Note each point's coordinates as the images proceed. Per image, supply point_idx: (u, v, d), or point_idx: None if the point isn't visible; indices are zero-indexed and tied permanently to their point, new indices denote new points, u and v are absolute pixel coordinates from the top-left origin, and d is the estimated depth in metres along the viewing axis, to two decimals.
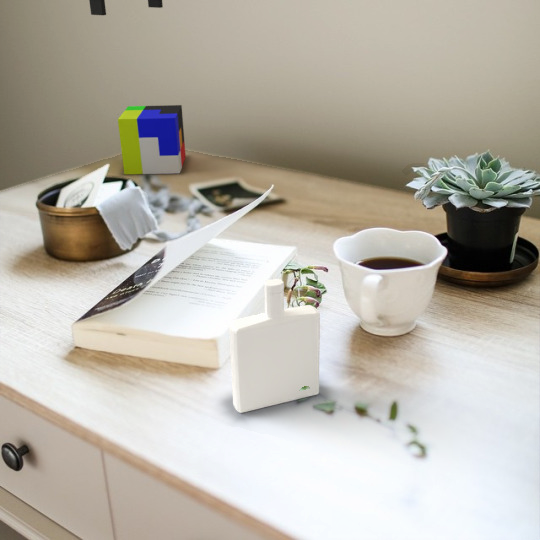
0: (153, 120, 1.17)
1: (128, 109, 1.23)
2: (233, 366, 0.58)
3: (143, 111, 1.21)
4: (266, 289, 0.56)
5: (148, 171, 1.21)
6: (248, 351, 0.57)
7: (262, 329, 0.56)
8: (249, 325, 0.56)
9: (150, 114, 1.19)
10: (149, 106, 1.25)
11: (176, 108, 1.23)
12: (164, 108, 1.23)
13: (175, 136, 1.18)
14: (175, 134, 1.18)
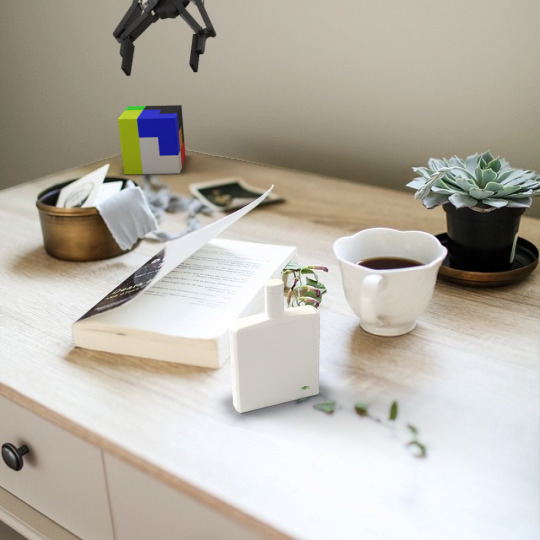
0: (153, 120, 1.17)
1: (128, 109, 1.23)
2: (233, 366, 0.58)
3: (143, 111, 1.21)
4: (266, 289, 0.56)
5: (148, 171, 1.21)
6: (248, 351, 0.57)
7: (262, 329, 0.56)
8: (249, 325, 0.56)
9: (150, 114, 1.19)
10: (149, 106, 1.25)
11: (176, 108, 1.23)
12: (164, 108, 1.23)
13: (175, 136, 1.18)
14: (175, 134, 1.18)
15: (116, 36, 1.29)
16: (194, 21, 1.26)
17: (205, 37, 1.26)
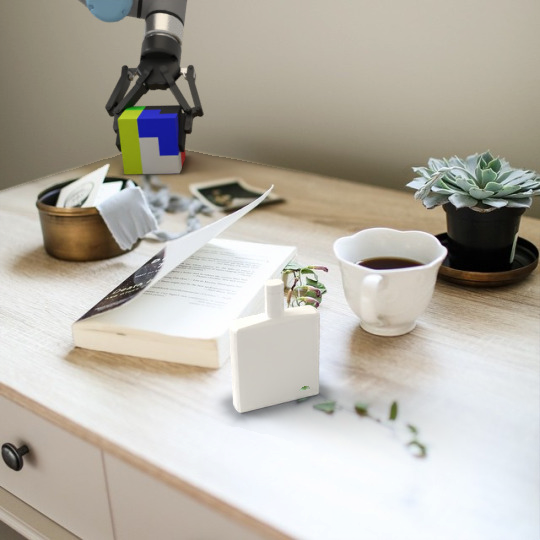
0: (153, 120, 1.17)
1: (128, 109, 1.23)
2: (233, 366, 0.58)
3: (143, 111, 1.21)
4: (266, 289, 0.56)
5: (148, 171, 1.21)
6: (248, 351, 0.57)
7: (262, 329, 0.56)
8: (249, 325, 0.56)
9: (150, 114, 1.19)
10: (149, 106, 1.25)
11: (176, 108, 1.23)
12: (164, 108, 1.23)
13: (175, 136, 1.18)
14: (175, 134, 1.18)
15: (109, 109, 1.23)
16: (183, 99, 1.22)
17: (193, 116, 1.22)
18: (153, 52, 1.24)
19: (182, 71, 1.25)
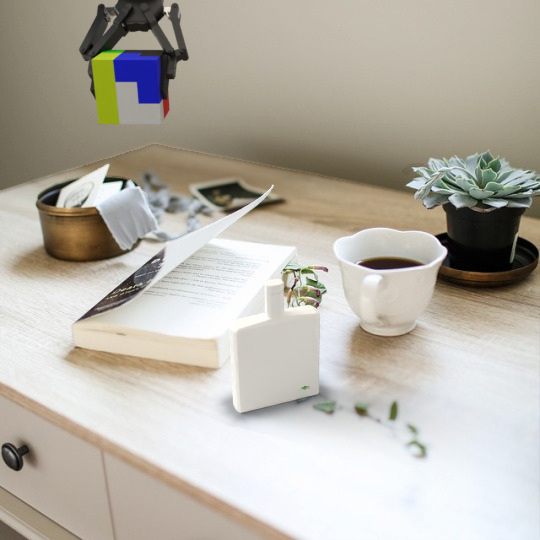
0: (131, 62, 1.03)
1: (105, 52, 1.09)
2: (233, 366, 0.58)
3: (121, 54, 1.08)
4: (266, 289, 0.56)
5: (125, 121, 1.07)
6: (248, 351, 0.57)
7: (262, 329, 0.56)
8: (249, 325, 0.56)
9: (129, 56, 1.06)
10: (129, 50, 1.11)
11: (159, 52, 1.09)
12: (146, 52, 1.10)
13: (156, 81, 1.04)
14: (156, 79, 1.04)
15: (84, 52, 1.09)
16: (166, 40, 1.09)
17: (176, 60, 1.09)
18: None
19: (165, 10, 1.12)
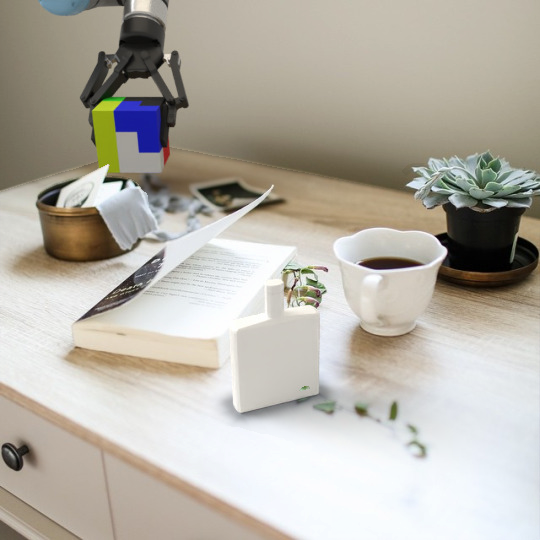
0: (131, 112, 1.04)
1: (106, 100, 1.10)
2: (233, 366, 0.58)
3: (122, 102, 1.09)
4: (266, 289, 0.56)
5: (126, 170, 1.08)
6: (248, 351, 0.57)
7: (262, 329, 0.56)
8: (249, 325, 0.56)
9: (129, 106, 1.06)
10: (130, 97, 1.12)
11: (159, 100, 1.10)
12: (146, 100, 1.10)
13: (156, 131, 1.05)
14: (156, 129, 1.05)
15: (84, 100, 1.10)
16: (166, 88, 1.10)
17: (176, 108, 1.10)
18: (133, 36, 1.11)
19: (165, 57, 1.12)
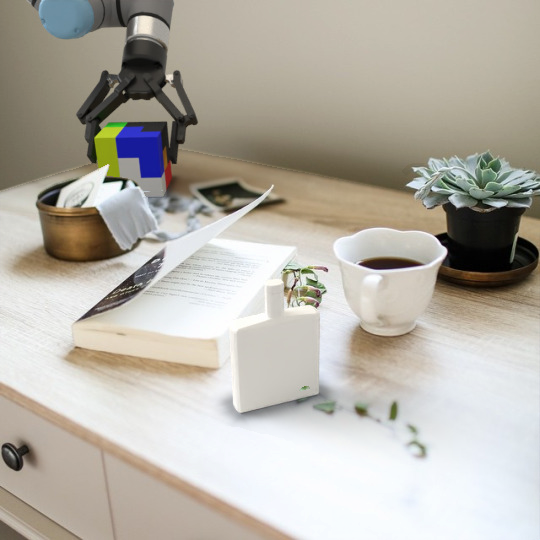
0: (133, 139, 1.06)
1: (108, 126, 1.12)
2: (233, 366, 0.58)
3: (124, 128, 1.10)
4: (266, 289, 0.56)
5: None
6: (248, 351, 0.57)
7: (262, 329, 0.56)
8: (249, 325, 0.56)
9: (131, 132, 1.08)
10: (131, 122, 1.14)
11: (160, 125, 1.12)
12: (147, 125, 1.12)
13: (157, 157, 1.07)
14: (157, 154, 1.07)
15: (80, 117, 1.12)
16: (173, 106, 1.11)
17: (186, 125, 1.12)
18: (136, 58, 1.13)
19: (168, 78, 1.14)
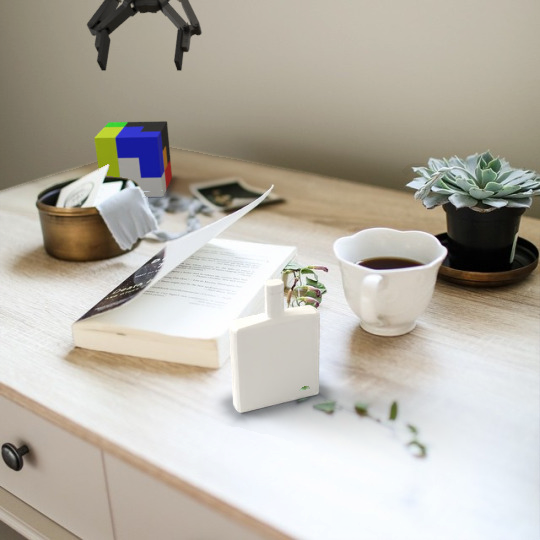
0: (133, 139, 1.06)
1: (108, 126, 1.12)
2: (233, 366, 0.58)
3: (124, 128, 1.10)
4: (266, 289, 0.56)
5: None
6: (248, 351, 0.57)
7: (262, 329, 0.56)
8: (249, 325, 0.56)
9: (131, 132, 1.08)
10: (131, 122, 1.14)
11: (160, 125, 1.12)
12: (147, 125, 1.12)
13: (157, 157, 1.07)
14: (157, 154, 1.07)
15: (91, 27, 1.19)
16: (179, 16, 1.18)
17: (190, 34, 1.18)
18: None
19: None
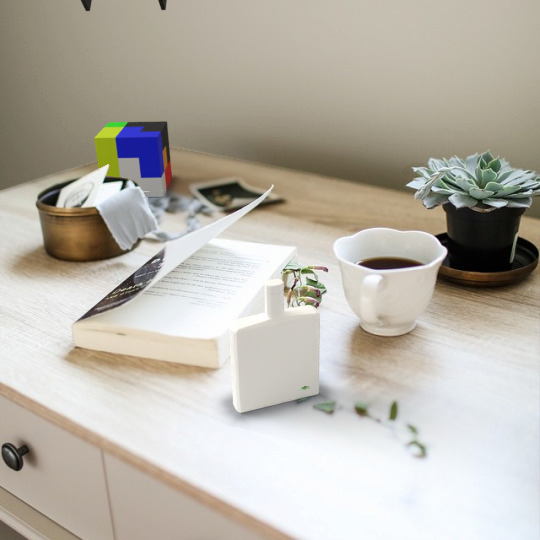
0: (133, 139, 1.06)
1: (108, 126, 1.12)
2: (233, 366, 0.58)
3: (124, 128, 1.10)
4: (266, 289, 0.56)
5: None
6: (248, 351, 0.57)
7: (262, 329, 0.56)
8: (249, 325, 0.56)
9: (131, 132, 1.08)
10: (131, 122, 1.14)
11: (160, 125, 1.12)
12: (147, 125, 1.12)
13: (157, 157, 1.07)
14: (157, 154, 1.07)
15: None
16: None
17: None
18: None
19: None
